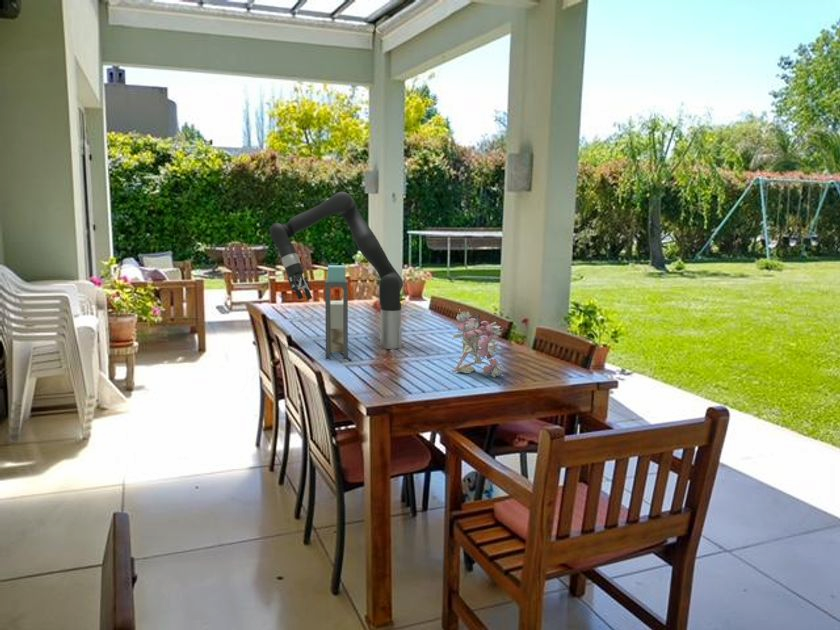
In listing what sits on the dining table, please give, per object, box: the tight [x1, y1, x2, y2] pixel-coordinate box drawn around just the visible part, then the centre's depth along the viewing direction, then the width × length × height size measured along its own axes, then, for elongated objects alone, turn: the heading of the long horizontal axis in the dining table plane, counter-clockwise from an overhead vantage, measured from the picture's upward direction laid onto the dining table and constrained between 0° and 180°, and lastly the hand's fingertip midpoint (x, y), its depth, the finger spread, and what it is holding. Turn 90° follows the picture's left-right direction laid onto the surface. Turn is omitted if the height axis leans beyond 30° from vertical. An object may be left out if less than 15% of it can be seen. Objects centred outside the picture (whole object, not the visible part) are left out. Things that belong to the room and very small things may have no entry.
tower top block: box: [330, 300, 343, 329], centre depth 285 cm, size 8×12×10 cm, turn 7°
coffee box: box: [462, 313, 481, 354], centre depth 288 cm, size 9×6×16 cm
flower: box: [450, 308, 504, 378], centre depth 246 cm, size 20×22×25 cm
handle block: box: [327, 264, 346, 282], centre depth 274 cm, size 7×21×6 cm, turn 7°
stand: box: [324, 278, 349, 360], centre depth 272 cm, size 9×12×32 cm
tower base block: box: [331, 329, 343, 353], centre depth 287 cm, size 8×12×10 cm, turn 7°
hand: (305, 299), depth 288 cm, fingers open, 8 cm apart
